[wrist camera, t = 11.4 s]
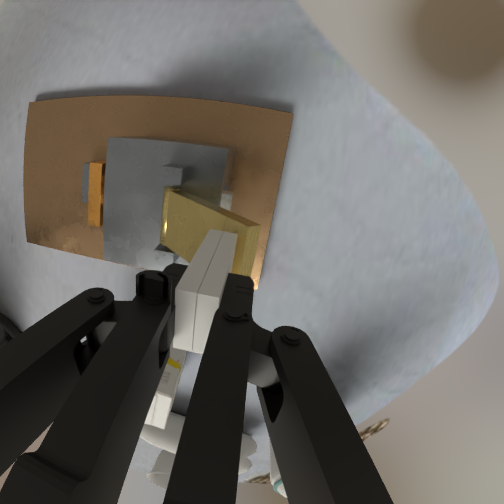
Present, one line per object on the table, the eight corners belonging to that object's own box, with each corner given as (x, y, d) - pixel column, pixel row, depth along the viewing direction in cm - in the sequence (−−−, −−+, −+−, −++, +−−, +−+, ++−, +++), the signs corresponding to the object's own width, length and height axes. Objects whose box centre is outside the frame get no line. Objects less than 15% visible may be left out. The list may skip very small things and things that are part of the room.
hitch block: (31, 239, 33) (-18, 270, 23) (34, 102, 26) (-24, 103, 15) (257, 284, 35) (256, 345, 24) (292, 114, 27) (311, 100, 17)
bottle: (264, 437, 43) (101, 374, 40) (249, 481, 38) (83, 419, 34) (247, 433, 50) (109, 379, 47) (235, 471, 45) (93, 417, 42)
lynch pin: (107, 213, 28) (88, 224, 24) (110, 158, 26) (90, 162, 22) (227, 233, 29) (222, 248, 25) (237, 174, 27) (233, 180, 23)
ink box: (135, 314, 37) (101, 371, 26) (192, 333, 38) (173, 397, 27) (131, 355, 40) (105, 409, 29) (182, 372, 41) (165, 432, 30)
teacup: (199, 466, 55) (194, 499, 46) (147, 443, 52) (137, 477, 42) (229, 455, 52) (226, 492, 42) (173, 429, 48) (163, 469, 39)
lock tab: (169, 239, 23) (157, 241, 22) (175, 185, 21) (161, 186, 20) (248, 293, 17) (234, 298, 16) (262, 223, 16) (247, 225, 15)
